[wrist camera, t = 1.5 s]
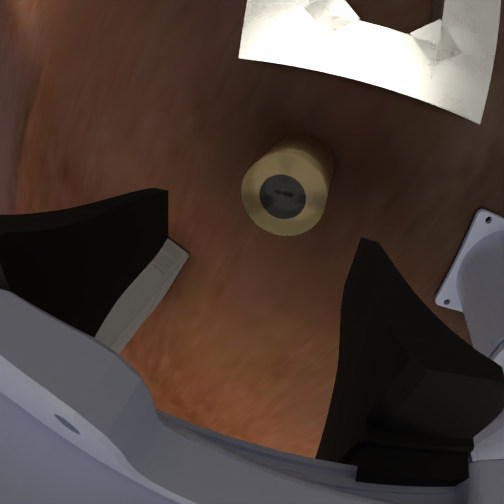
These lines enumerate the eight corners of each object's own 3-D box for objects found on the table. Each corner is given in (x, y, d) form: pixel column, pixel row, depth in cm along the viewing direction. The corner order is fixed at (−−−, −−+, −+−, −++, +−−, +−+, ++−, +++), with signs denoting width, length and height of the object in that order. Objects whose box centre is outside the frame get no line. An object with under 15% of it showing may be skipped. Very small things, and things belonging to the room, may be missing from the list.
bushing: (340, 141, 18) (334, 167, 13) (326, 200, 20) (314, 245, 15) (276, 126, 19) (246, 146, 14) (267, 184, 21) (236, 223, 16)
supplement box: (124, 200, 25) (10, 285, 15) (192, 254, 26) (98, 368, 16) (103, 255, 30) (16, 337, 19) (161, 301, 30) (85, 400, 20)
